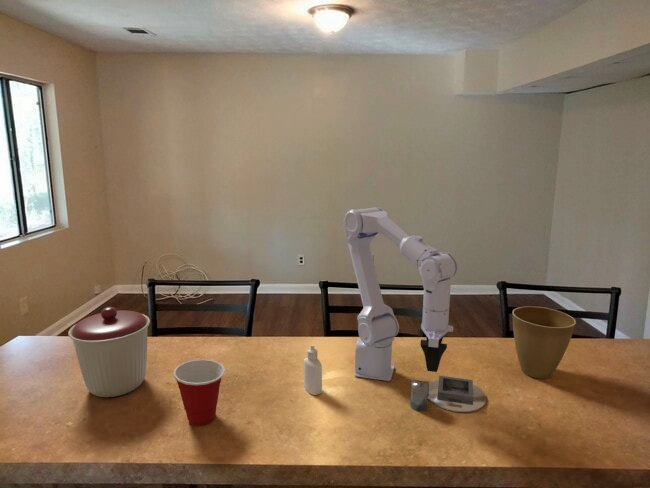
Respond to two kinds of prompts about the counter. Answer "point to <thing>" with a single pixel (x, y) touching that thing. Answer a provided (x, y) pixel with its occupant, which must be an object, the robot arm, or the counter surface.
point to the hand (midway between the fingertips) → (432, 362)
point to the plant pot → (541, 339)
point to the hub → (456, 394)
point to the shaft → (419, 394)
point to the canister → (112, 351)
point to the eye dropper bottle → (312, 372)
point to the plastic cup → (199, 389)
